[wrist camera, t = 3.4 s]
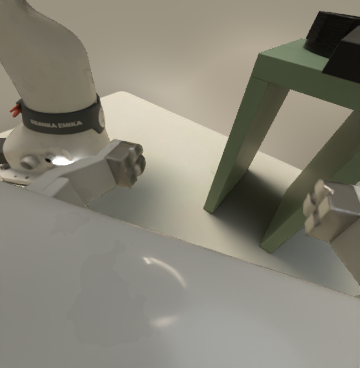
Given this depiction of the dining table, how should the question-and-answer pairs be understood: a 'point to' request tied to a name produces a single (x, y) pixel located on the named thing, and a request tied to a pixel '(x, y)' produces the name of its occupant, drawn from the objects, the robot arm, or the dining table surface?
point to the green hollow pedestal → (264, 116)
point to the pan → (336, 44)
